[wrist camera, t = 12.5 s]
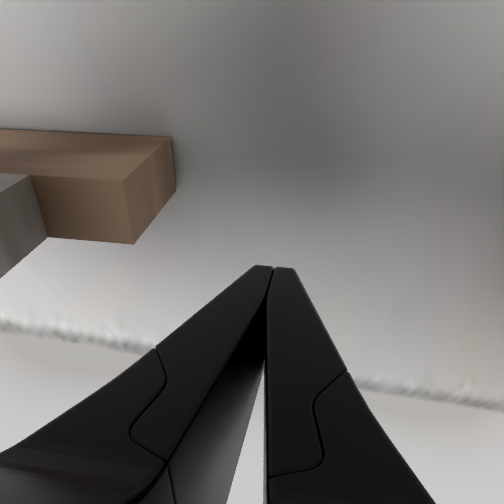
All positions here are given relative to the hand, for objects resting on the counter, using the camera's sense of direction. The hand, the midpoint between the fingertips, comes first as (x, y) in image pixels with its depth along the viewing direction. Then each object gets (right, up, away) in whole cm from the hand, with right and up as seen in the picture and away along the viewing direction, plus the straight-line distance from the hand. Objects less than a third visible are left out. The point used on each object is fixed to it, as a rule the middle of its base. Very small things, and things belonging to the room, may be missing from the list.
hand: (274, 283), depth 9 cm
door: (-7, +4, +7) cm, 11 cm away
